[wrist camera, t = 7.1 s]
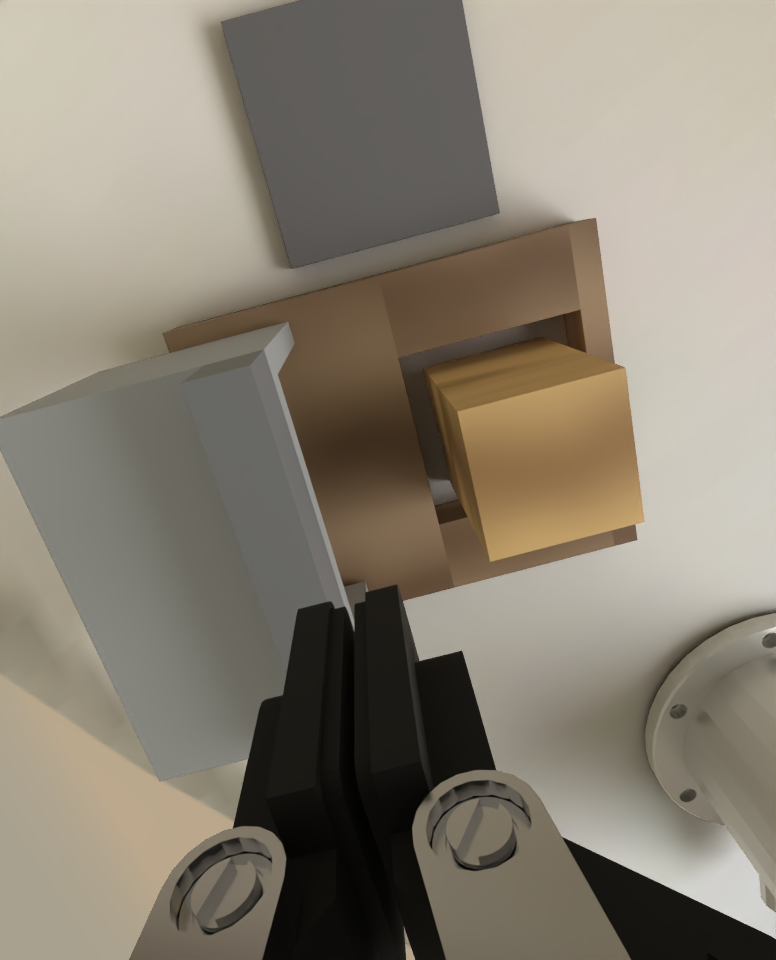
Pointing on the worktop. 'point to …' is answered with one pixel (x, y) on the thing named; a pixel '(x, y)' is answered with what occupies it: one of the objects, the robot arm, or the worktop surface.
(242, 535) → the cover
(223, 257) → the worktop surface
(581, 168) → the worktop surface
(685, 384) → the worktop surface
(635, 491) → the block
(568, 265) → the board
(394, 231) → the mat
